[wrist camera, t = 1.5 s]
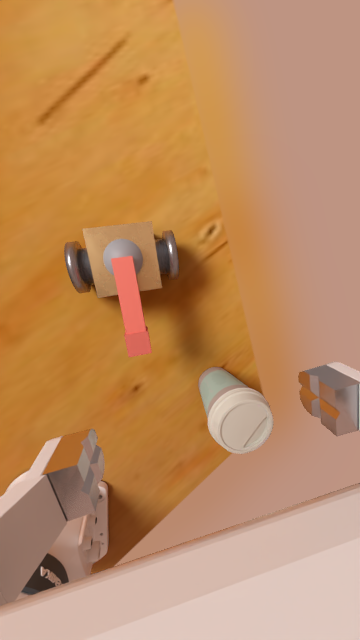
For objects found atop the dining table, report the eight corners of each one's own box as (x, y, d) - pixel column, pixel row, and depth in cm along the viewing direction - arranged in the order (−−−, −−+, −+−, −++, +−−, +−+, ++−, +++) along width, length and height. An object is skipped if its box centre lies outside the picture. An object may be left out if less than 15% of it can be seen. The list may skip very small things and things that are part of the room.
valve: (174, 283, 34) (181, 285, 28) (88, 297, 32) (75, 301, 26) (166, 229, 32) (172, 217, 26) (75, 240, 30) (57, 230, 24)
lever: (101, 242, 25) (94, 237, 22) (139, 238, 26) (138, 232, 22) (123, 348, 28) (120, 358, 24) (157, 342, 29) (159, 351, 25)
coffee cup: (200, 412, 39) (225, 468, 27) (183, 371, 37) (202, 415, 25) (243, 391, 40) (285, 438, 28) (228, 351, 38) (267, 384, 26)
